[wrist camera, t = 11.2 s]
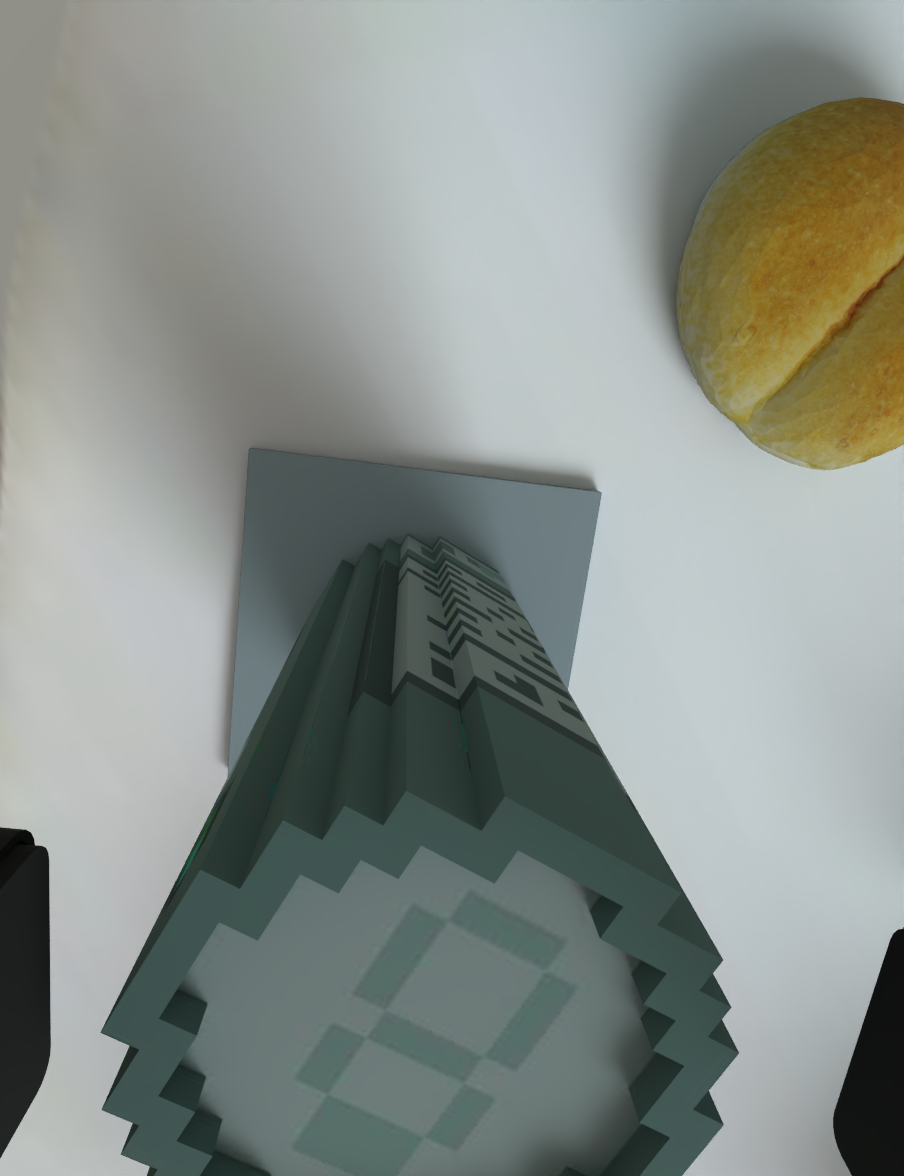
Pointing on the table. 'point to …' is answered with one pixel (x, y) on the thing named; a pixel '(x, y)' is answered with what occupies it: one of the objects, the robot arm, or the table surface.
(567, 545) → the coaster
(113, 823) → the table surface
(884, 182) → the bread roll
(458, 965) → the can
